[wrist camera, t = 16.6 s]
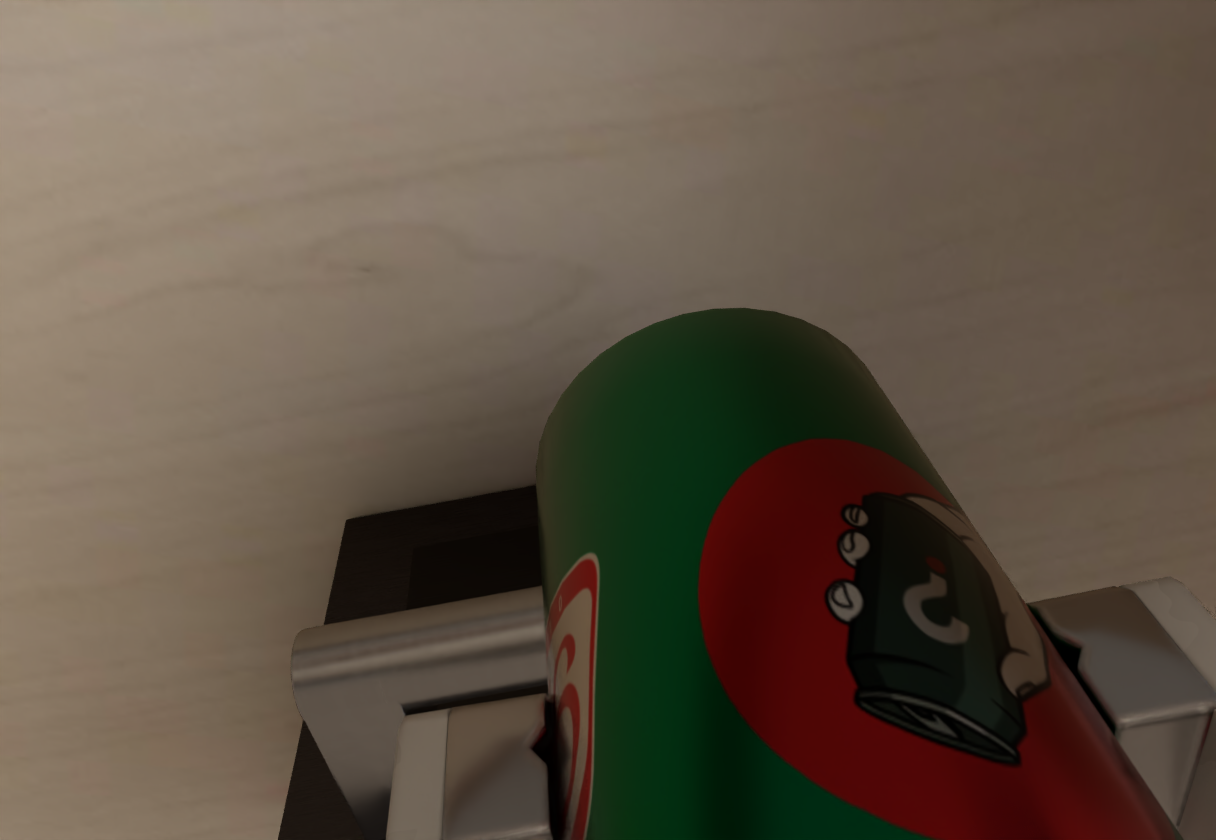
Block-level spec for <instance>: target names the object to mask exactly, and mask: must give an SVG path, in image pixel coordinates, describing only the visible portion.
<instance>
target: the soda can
mask: <svg viewBox="0 0 1216 840" xmlns="http://www.w3.org/2000/svg"><path fill="white" fill-rule="evenodd" d="M536 492H537V509H538V526H539V543H540V560H541V577H542V595H543V612H544V629H545V646H546V663H547V681H548V698H549V704H550V721H551V737H552V757H553V784H554V791H555V805H556V823H557V840H1184V839H1183V838H1182V836H1181V835H1180V833H1179V832H1178V830H1177V829H1176V827H1175V826H1174V824H1173V823H1172V821H1171V820H1170V818H1169V817H1168V815H1167V814H1166V812H1165V811H1164V809H1163V808H1162V806H1161V805H1160V803H1159V802H1158V800H1157V799H1156V797H1155V796H1154V794H1153V793H1152V791H1151V790H1150V788H1149V787H1148V785H1147V784H1146V782H1145V781H1144V779H1143V778H1142V777H1141V775H1140V774H1139V772H1138V771H1137V769H1136V768H1135V766H1134V765H1133V763H1132V762H1131V760H1130V759H1129V757H1128V756H1127V754H1126V753H1125V751H1124V750H1123V748H1122V747H1121V745H1120V744H1119V742H1118V741H1117V739H1116V738H1115V736H1114V735H1113V733H1112V732H1111V730H1110V729H1109V727H1108V726H1107V724H1106V723H1105V721H1104V720H1103V718H1102V717H1101V715H1100V714H1099V712H1098V711H1097V709H1096V708H1095V706H1094V705H1093V703H1092V702H1091V700H1090V699H1089V698H1088V696H1087V695H1086V693H1085V692H1084V690H1083V689H1082V687H1081V686H1080V684H1079V683H1078V681H1077V680H1076V678H1075V677H1074V675H1073V674H1072V672H1071V671H1070V669H1069V668H1068V666H1067V665H1066V663H1065V662H1064V660H1063V659H1062V657H1061V656H1060V654H1059V653H1058V651H1057V650H1056V648H1055V647H1054V645H1053V644H1052V642H1051V641H1050V639H1049V638H1048V636H1047V635H1046V633H1045V632H1044V630H1043V629H1042V627H1041V626H1040V624H1039V623H1038V621H1037V620H1036V619H1035V617H1034V616H1033V614H1032V613H1031V611H1030V610H1029V608H1028V607H1027V605H1026V604H1025V602H1024V601H1023V599H1022V598H1021V596H1020V595H1019V593H1018V592H1017V590H1016V589H1015V587H1014V586H1013V584H1012V583H1011V581H1010V580H1009V578H1008V577H1007V575H1006V574H1005V572H1004V571H1003V569H1002V568H1001V566H1000V565H999V563H998V562H997V560H996V559H995V557H994V556H993V554H992V553H991V551H990V550H989V548H988V547H987V545H986V544H985V542H984V541H983V540H982V538H981V537H980V535H979V534H978V532H977V531H976V529H975V528H974V526H973V525H972V523H971V522H970V520H969V519H968V517H967V516H966V514H965V513H964V511H963V510H962V508H961V507H960V505H959V504H958V502H957V501H956V499H955V498H954V496H953V495H952V493H951V492H950V490H949V489H948V487H947V486H946V484H945V483H944V481H943V480H942V478H941V477H940V475H939V474H938V472H937V471H936V469H935V468H934V466H933V465H932V463H931V462H930V461H929V459H928V458H927V456H926V455H925V453H924V452H923V450H922V449H921V447H920V446H919V444H918V443H917V441H916V440H915V438H914V437H913V435H912V434H911V432H910V431H909V429H908V428H907V426H906V425H905V423H904V422H903V420H902V419H901V417H900V416H899V414H898V413H897V411H896V410H895V408H894V407H893V405H892V404H891V402H890V401H889V399H888V398H887V396H886V395H885V393H884V392H883V390H882V389H881V387H880V386H879V384H878V383H877V382H876V380H875V379H874V377H873V376H872V374H871V373H870V371H869V370H868V368H867V367H866V365H865V364H864V363H863V362H862V361H861V360H860V359H859V358H858V356H857V355H856V354H855V353H854V352H853V351H852V350H851V349H850V348H849V347H848V346H847V345H845V344H844V343H842V342H841V341H840V340H838V339H837V338H835V337H834V336H833V335H831V334H830V333H828V332H827V331H825V330H823V329H821V328H819V327H817V326H815V325H813V324H810V323H808V322H806V321H804V320H802V319H799V318H795V317H792V316H788V315H785V314H781V313H778V312H774V311H766V310H757V309H749V308H725V309H710V310H704V311H698V312H692V313H687V314H682V315H679V316H676V317H673V318H670V319H666V320H663V321H660V322H657V323H654V324H652V325H650V326H648V327H645V328H643V329H641V330H639V331H637V332H635V333H633V334H631V335H629V336H627V337H625V338H624V339H622V340H621V341H619V342H618V343H616V344H615V345H613V346H612V347H610V348H609V349H607V350H606V351H604V352H603V353H601V354H600V355H599V356H598V357H597V358H595V359H594V360H593V361H592V362H591V363H590V364H589V365H588V366H587V367H586V368H584V369H583V370H582V371H581V372H580V373H579V374H578V375H577V377H576V378H575V379H574V380H573V381H572V383H571V384H570V385H569V386H568V388H567V389H566V390H565V391H564V393H563V394H562V395H561V397H560V399H559V400H558V402H557V404H556V406H555V407H554V409H553V411H552V413H551V414H550V416H549V418H548V421H547V423H546V426H545V429H544V432H543V434H542V437H541V440H540V443H539V449H538V455H537V461H536Z"/></svg>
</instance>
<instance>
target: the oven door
mask: <svg viewBox="0 0 1216 840" xmlns="http://www.w3.org/2000/svg"><path fill="white" fill-rule="evenodd" d="M291 680H292V688H293V693H294V697H295V701H296V705H297V708H298V710H299V713H300V715H301V717H302V718H303V724H302V729H301V734H300V738H299V743H298V748H297V752H296V757H295V762H294V766H293V771H292V776H291V780H290V785H289V790H288V794H287V799H286V804H285V808H284V813H283V818H282V823H281V827H280V832H279V837H278V840H386V833H387V824H388V815H389V806H390V798H391V789H392V780H393V771H394V762H395V753H396V745H397V736H398V730H399V727H400V725H401V723H402V720H403V718H404V716H407V715H413V714H419V713H425V712H431V711H437V710H443V709H449V708H452V707H459V706H465V705H471V704H478V703H484V702H491V701H497V700H503V699H510V698H516V697H523V696H529V695H535V694H542V693H545V694H547V695H548V681H547V663H546V646H545V629H544V612H543V595H542V577H541V560H540V543H539V526H538V509H537V492H536V485H535V486H529V487H524V488H518V489H513V490H507V491H502V492H496V493H491V494H485V495H480V496H474V497H469V498H463V499H458V500H452V501H447V502H441V503H436V504H430V505H425V506H419V507H414V508H408V509H403V510H397V511H392V512H386V513H381V514H375V515H370V516H364V517H359V518H353V519H348V520H346V523H345V528H344V532H343V537H342V542H341V546H340V551H339V556H338V560H337V565H336V570H335V574H334V579H333V584H332V588H331V593H330V598H329V602H328V607H327V612H326V617H325V621H324V625H322V626H316V627H311V628H305V629H303V630H301V631H300V632H299V633H298V634H297V636H296V638H295V640H294V644H293V648H292V655H291Z"/></svg>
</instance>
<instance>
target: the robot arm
mask: <svg viewBox="0 0 1216 840" xmlns="http://www.w3.org/2000/svg"><path fill="white" fill-rule="evenodd" d="M1026 605H1027V607H1028V608H1029V610H1030V611H1031V613H1032V614H1033V616H1034V617H1035V619H1036V620H1037V621H1038V623H1039V624H1040V626H1041V627H1042V629H1043V630H1044V632H1045V633H1046V635H1047V636H1048V638H1049V639H1050V641H1051V642H1052V644H1053V645H1054V647H1055V648H1056V650H1057V651H1058V653H1059V654H1060V656H1061V657H1062V659H1063V660H1064V662H1065V663H1066V665H1067V666H1068V668H1069V669H1070V671H1071V672H1072V674H1073V675H1074V677H1075V678H1076V680H1077V681H1078V683H1079V684H1080V686H1081V687H1082V689H1083V690H1084V692H1085V693H1086V695H1087V696H1088V698H1089V699H1090V700H1091V702H1092V703H1093V705H1094V706H1095V708H1096V709H1097V711H1098V712H1099V714H1100V715H1101V717H1102V718H1103V720H1104V721H1105V723H1106V724H1107V726H1108V727H1109V729H1110V730H1111V732H1112V733H1113V735H1114V736H1115V738H1116V739H1117V741H1118V742H1119V744H1120V745H1121V747H1122V748H1123V750H1124V751H1125V753H1126V754H1127V756H1128V757H1129V759H1130V760H1131V762H1132V763H1133V765H1134V766H1135V768H1136V769H1137V771H1138V772H1139V774H1140V775H1141V777H1142V778H1143V779H1144V781H1145V782H1146V784H1147V785H1148V787H1149V788H1150V790H1151V791H1152V793H1153V794H1154V796H1155V797H1156V799H1157V800H1158V802H1159V803H1160V805H1161V806H1162V808H1163V809H1164V811H1165V812H1166V814H1167V815H1168V817H1169V818H1170V820H1171V821H1172V823H1173V824H1174V826H1175V827H1176V829H1177V830H1178V832H1179V833H1180V835H1181V836H1182V838H1183V839H1184V840H1216V620H1215V619H1214V618H1213V617H1212V615H1211V614H1210V613H1209V612H1208V611H1207V610H1206V609H1205V608H1204V607H1203V605H1202V604H1201V603H1200V602H1199V601H1198V600H1197V599H1196V598H1195V597H1194V596H1193V594H1192V593H1191V592H1190V591H1189V590H1188V589H1187V588H1186V587H1185V586H1184V585H1183V584H1182V582H1180V581H1178V580H1176V579H1174V578H1172V577H1164V578H1159V579H1153V580H1148V581H1143V582H1137V583H1132V584H1127V585H1121V586H1119V587H1116V586H1112V587H1107V588H1102V589H1097V590H1092V591H1087V592H1082V593H1077V594H1072V595H1067V596H1061V597H1056V598H1051V599H1046V600H1041V601H1036V602H1031V603H1026ZM386 840H557V823H556V805H555V791H554V784H553V757H552V737H551V721H550V704H549V698H548V695H547V694H545V693H542V694H535V695H529V696H523V697H516V698H510V699H503V700H497V701H491V702H484V703H478V704H471V705H465V706H459V707H452V708H449V709H443V710H437V711H431V712H425V713H419V714H413V715H407V716H404V718H403V720H402V723H401V725H400V727H399V730H398V736H397V745H396V753H395V762H394V771H393V780H392V789H391V798H390V806H389V815H388V824H387V833H386Z"/></svg>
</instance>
